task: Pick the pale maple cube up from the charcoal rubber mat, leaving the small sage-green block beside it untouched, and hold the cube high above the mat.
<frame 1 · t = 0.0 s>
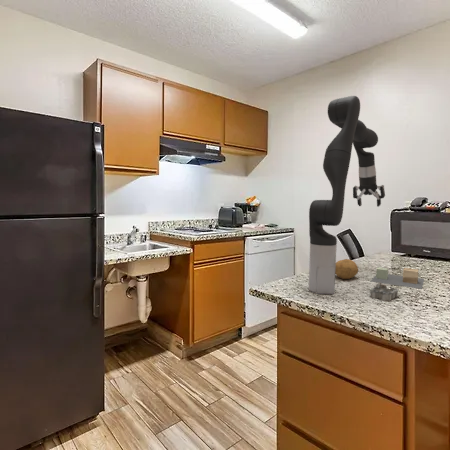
hand: (369, 205, 154), 31 cm above the counter, fingers open, 8 cm apart
maple block: (410, 281, 126), resting on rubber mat
potato: (344, 279, 132), on the counter
sage block: (381, 277, 132), resting on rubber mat
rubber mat: (397, 281, 129), on the counter
miniature stone castle: (384, 297, 107), on the counter
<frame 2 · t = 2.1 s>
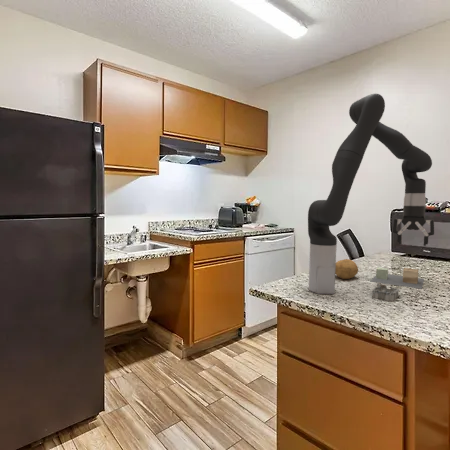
hand: (412, 244, 125), 16 cm above the counter, fingers open, 8 cm apart
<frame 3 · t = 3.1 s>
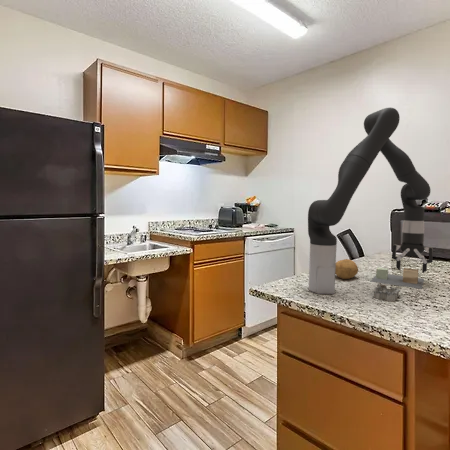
hand: (411, 271, 126), 5 cm above the counter, fingers open, 8 cm apart
nothing on the counter moved.
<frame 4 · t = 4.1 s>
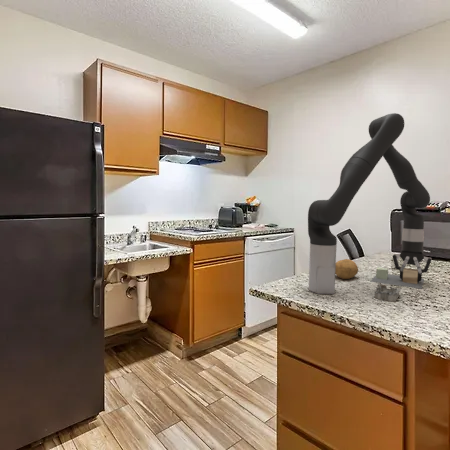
hand: (410, 280, 126), 1 cm above the counter, fingers closed on maple block, 5 cm apart
maple block: (410, 281, 126), resting on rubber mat, touching gripper
everything else where it was.
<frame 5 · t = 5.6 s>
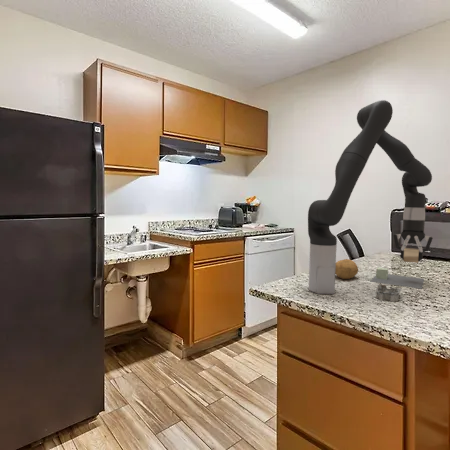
hand: (411, 260, 125), 9 cm above the counter, fingers closed on maple block, 5 cm apart
maple block: (411, 261, 125), point 9 cm above the counter, touching gripper
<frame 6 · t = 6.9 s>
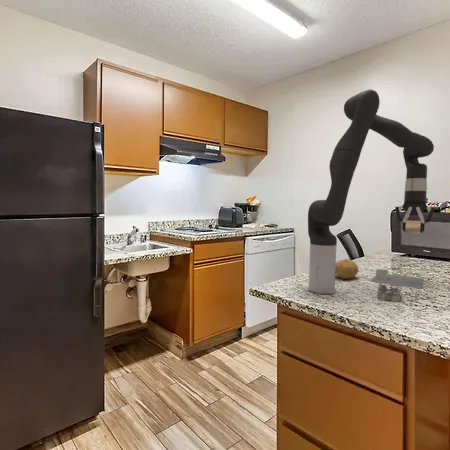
hand: (413, 232, 125), 21 cm above the counter, fingers closed on maple block, 5 cm apart
maple block: (412, 233, 125), point 21 cm above the counter, touching gripper
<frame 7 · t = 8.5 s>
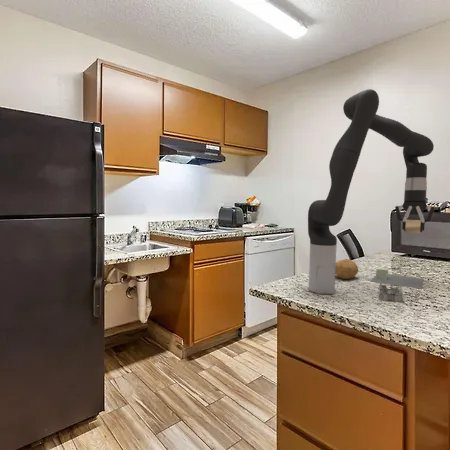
hand: (413, 231, 125), 21 cm above the counter, fingers closed on maple block, 5 cm apart
maple block: (412, 232, 125), point 21 cm above the counter, touching gripper
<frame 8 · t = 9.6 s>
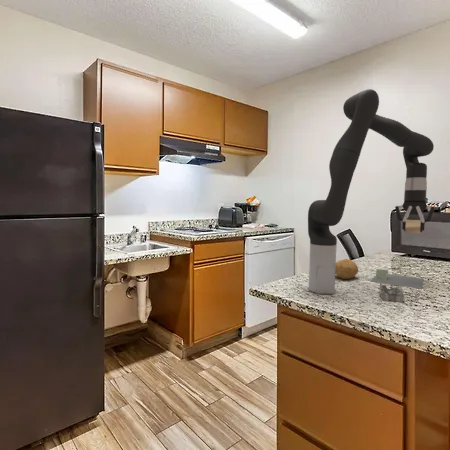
hand: (413, 231, 125), 21 cm above the counter, fingers closed on maple block, 5 cm apart
maple block: (412, 232, 125), point 21 cm above the counter, touching gripper
at the end: the gripper is holding maple block; maple block point 20.9 cm above the counter; sage block moved 0.0 cm from its start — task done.
